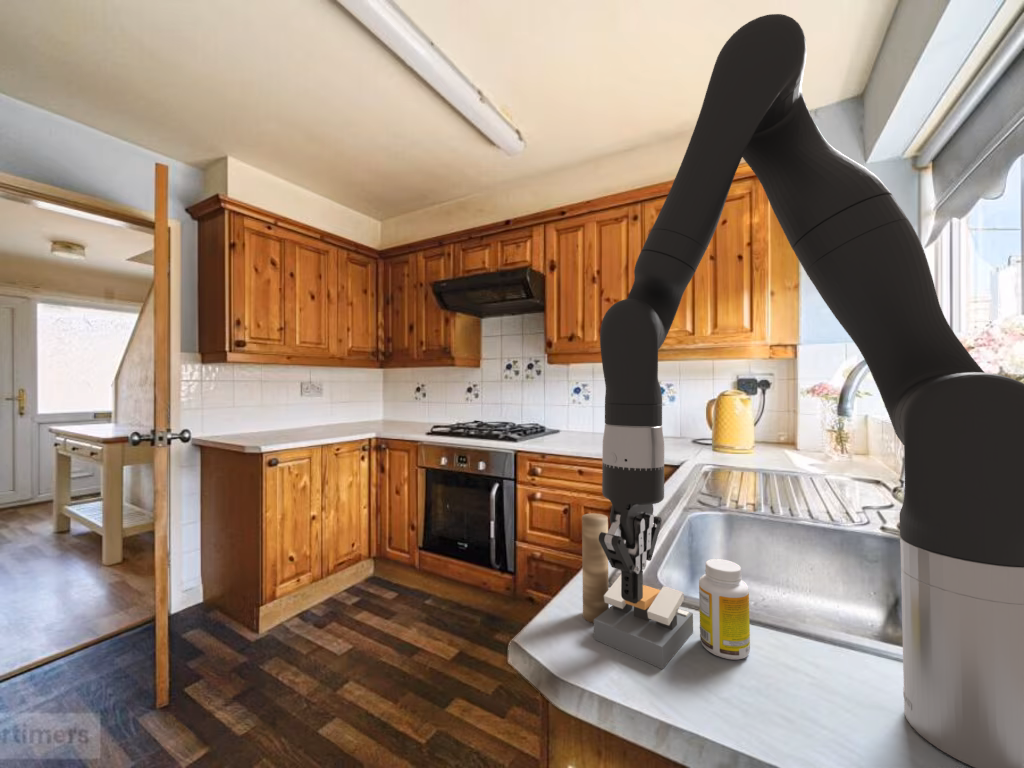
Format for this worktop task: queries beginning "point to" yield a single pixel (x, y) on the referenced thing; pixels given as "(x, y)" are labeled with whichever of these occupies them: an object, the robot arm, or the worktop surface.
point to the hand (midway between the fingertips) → (632, 599)
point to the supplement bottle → (724, 610)
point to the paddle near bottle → (665, 605)
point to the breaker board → (643, 633)
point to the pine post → (594, 566)
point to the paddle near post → (615, 595)
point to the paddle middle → (646, 598)
